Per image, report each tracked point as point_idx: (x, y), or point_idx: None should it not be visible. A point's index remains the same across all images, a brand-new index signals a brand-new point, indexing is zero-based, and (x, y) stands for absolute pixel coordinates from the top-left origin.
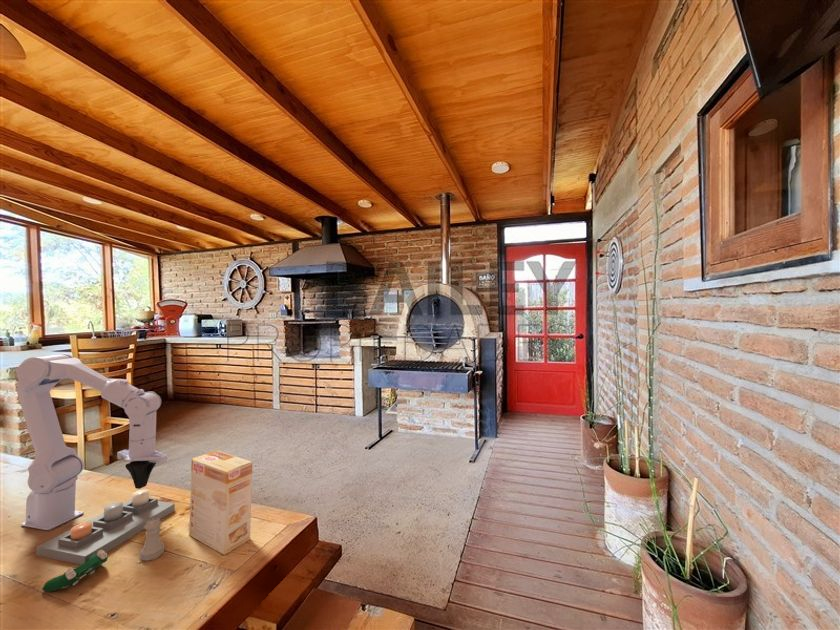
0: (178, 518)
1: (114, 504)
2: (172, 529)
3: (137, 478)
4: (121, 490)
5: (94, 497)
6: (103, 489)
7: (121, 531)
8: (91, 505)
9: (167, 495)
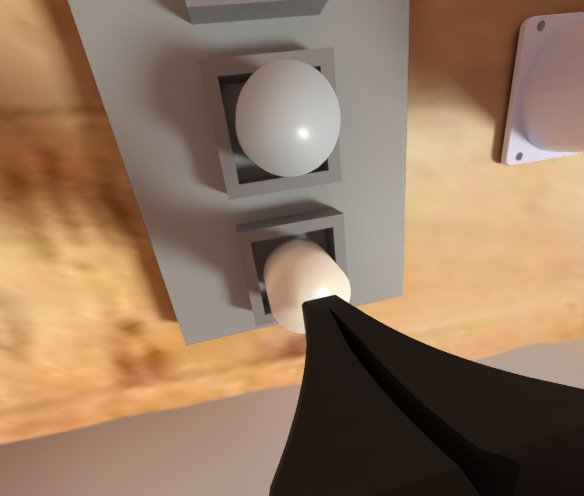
0: (106, 303)
1: (311, 141)
2: (21, 246)
3: (330, 346)
4: (510, 308)
5: (557, 245)
6: (570, 285)
7: (134, 88)
8: (523, 211)
9: None
